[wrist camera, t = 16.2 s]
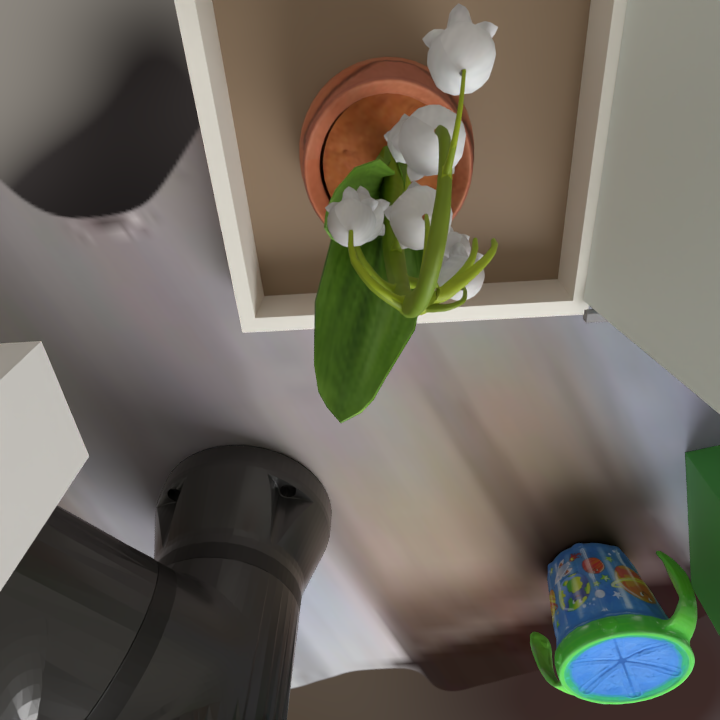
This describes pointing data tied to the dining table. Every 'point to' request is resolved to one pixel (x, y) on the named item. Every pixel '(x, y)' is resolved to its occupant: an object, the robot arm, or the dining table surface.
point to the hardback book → (705, 527)
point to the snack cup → (614, 628)
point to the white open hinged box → (493, 158)
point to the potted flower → (392, 204)
